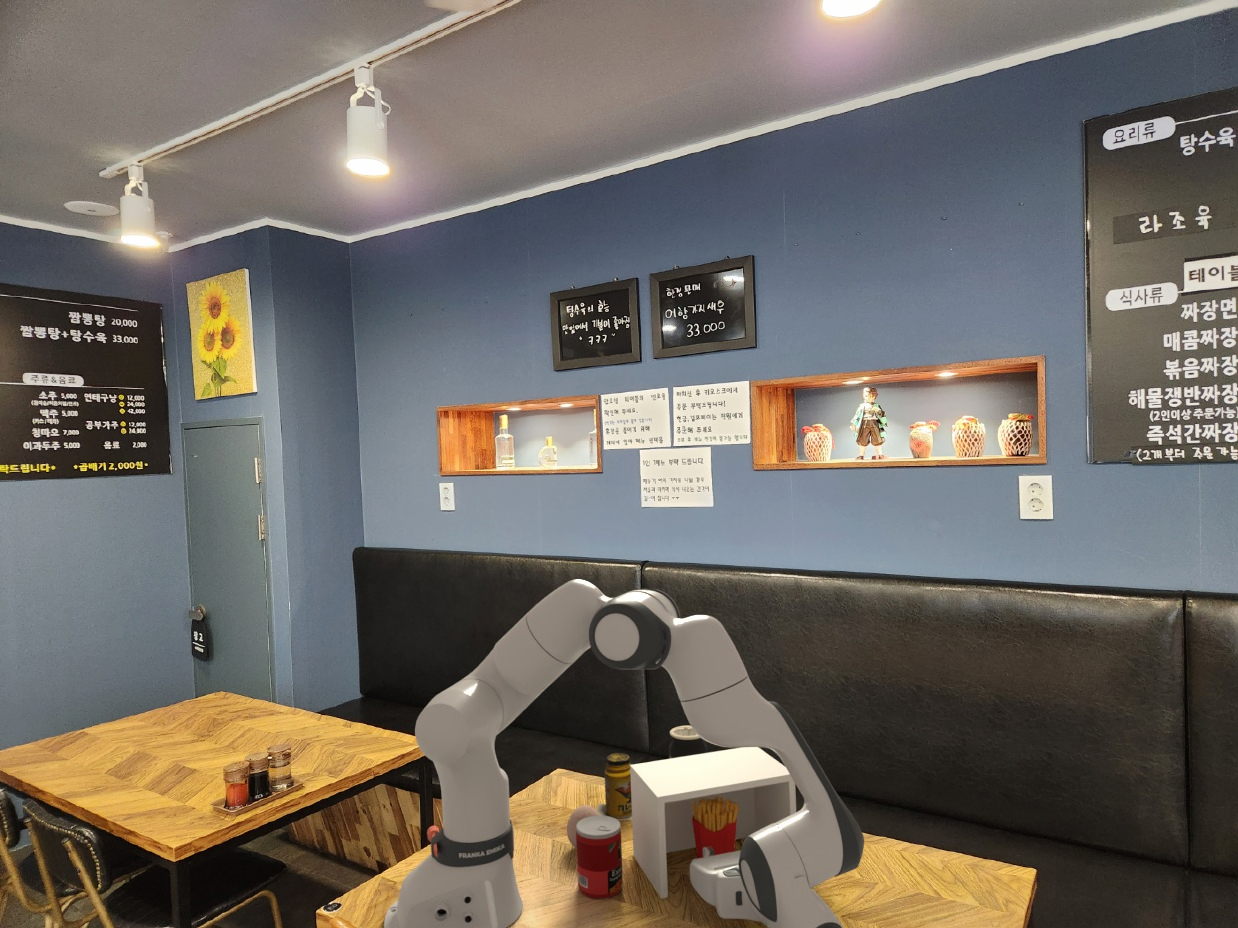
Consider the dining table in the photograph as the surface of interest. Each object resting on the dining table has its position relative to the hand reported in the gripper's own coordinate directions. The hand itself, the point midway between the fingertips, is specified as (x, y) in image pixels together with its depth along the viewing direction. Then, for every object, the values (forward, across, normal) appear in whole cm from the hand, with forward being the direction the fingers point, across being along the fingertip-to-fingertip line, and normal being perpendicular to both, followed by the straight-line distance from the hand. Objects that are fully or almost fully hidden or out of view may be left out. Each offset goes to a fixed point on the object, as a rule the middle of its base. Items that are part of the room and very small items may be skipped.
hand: (731, 846), depth 131 cm
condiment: (+35, +11, +7) cm, 37 cm away
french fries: (+7, 0, +7) cm, 10 cm away
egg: (+22, +21, +7) cm, 31 cm away
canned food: (+8, +22, +7) cm, 24 cm away
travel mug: (+27, -3, +7) cm, 28 cm away
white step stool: (+8, 0, +7) cm, 10 cm away
